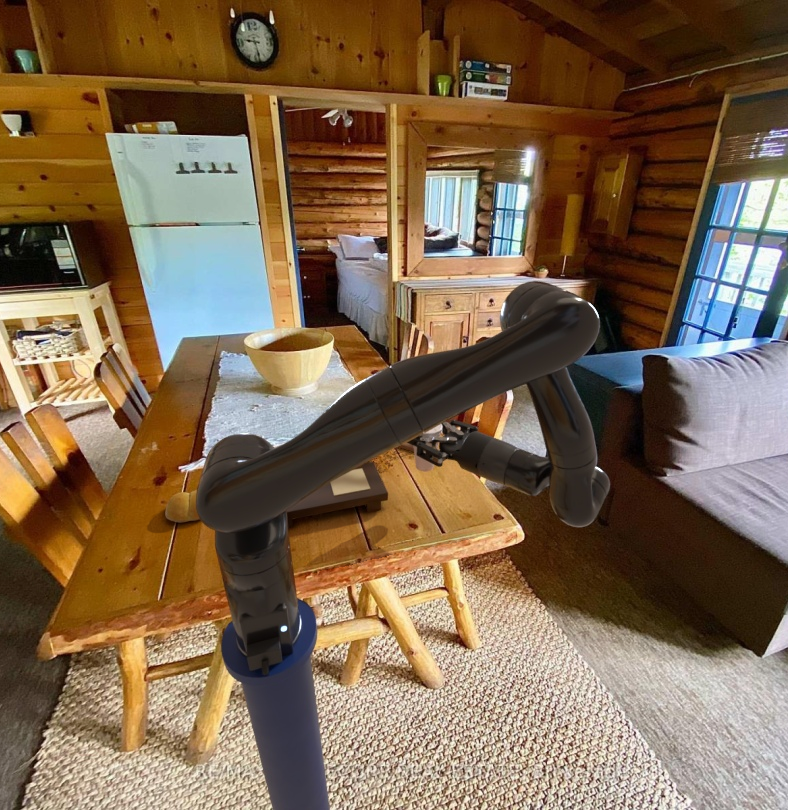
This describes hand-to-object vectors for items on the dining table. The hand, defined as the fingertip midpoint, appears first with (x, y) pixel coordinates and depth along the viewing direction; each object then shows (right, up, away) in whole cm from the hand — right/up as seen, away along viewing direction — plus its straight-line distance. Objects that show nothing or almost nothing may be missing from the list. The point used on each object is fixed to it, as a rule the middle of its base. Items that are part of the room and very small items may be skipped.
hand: (416, 429), depth 89 cm
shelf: (-19, -16, +6) cm, 26 cm away
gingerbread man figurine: (-2, -6, +26) cm, 27 cm away
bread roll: (-47, -17, +2) cm, 50 cm away
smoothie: (+2, -8, +2) cm, 9 cm away
